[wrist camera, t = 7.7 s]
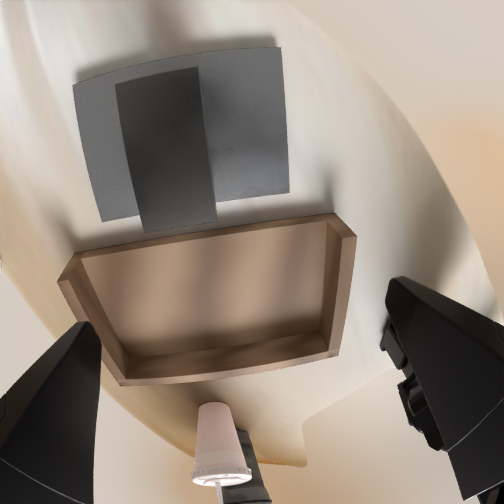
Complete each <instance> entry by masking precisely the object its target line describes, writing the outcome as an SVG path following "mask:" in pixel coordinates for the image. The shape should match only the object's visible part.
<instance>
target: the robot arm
mask: <svg viewBox="0 0 504 504" xmlns="http://www.w3.org/2000/svg"><path fill="white" fill-rule="evenodd" d="M385 304H386V308H387V310H388V313H389V315H390V319H389V322H388V325H387V328H386V331H385V334H384V337H383V340H382V343H381V346H380V349H381V350H382V351H387V352H388V354H389V356H390V358H391V359H392V361H393V363H394V364H395V366H396V368H397V369H398V370H400V369H402V371H403V373H404V375H405V376H406V378H407V379H406V380H404V381H403V382H401V383H399V384H398V385H397V386H398V389H399V394H400V397H401V400H402V403H403V406H404V409H405V412H406V415H407V418H408V423H409V425H410V426H414V427H415V428H416V429H417V430H418V431H419V432H420V433H423V434H424V436H425V438H426V440H427V443H428V445H429V446H430V447H431V448H433V449H434V450H437V451H439V450H443V451H446V452H448V455H449V458H450V461H451V464H452V467H453V470H454V473H455V476H456V479H457V482H458V485H459V489H460V492H461V495H462V498H463V500H464V501H465V500H467V499H469V498H472V497H474V496H476V495H477V497H478V499H479V501H480V504H504V326H502V325H501V324H499V323H497V322H494V321H493V320H491V319H489V318H487V317H485V316H483V315H482V314H480V313H478V312H476V311H474V310H472V309H470V308H468V307H466V306H464V305H462V304H460V303H458V302H456V301H454V300H452V299H450V298H448V297H446V296H444V295H442V294H440V293H438V292H436V291H434V290H431V289H429V288H427V287H425V286H423V285H421V284H419V283H417V282H415V281H413V280H411V279H408V278H406V277H404V276H399V277H395V278H392V279H391V280H390V282H389V286H388V290H387V294H386V298H385ZM101 355H102V343H101V340H100V338H99V336H98V334H97V333H96V331H95V329H94V327H93V325H92V324H91V323H90V322H89V321H79V322H76V323H75V324H74V325H73V326H72V327H71V328H70V329H69V330H68V331H67V332H66V333H65V334H64V335H62V336H61V337H60V338H59V339H58V340H57V341H56V342H55V343H54V344H53V345H52V346H51V347H50V348H49V349H48V350H47V351H46V352H45V353H44V354H43V355H42V356H41V357H40V358H39V359H38V360H37V361H36V362H35V363H34V364H33V365H32V366H31V367H30V368H29V369H28V370H27V371H26V372H25V373H24V374H23V375H22V376H21V377H20V378H19V379H18V380H17V381H16V382H15V383H14V384H13V386H12V387H11V388H10V389H9V390H8V391H7V392H6V394H4V395H3V396H2V397H1V399H0V504H94V501H93V469H94V446H95V432H96V419H97V410H98V401H99V392H100V373H101Z"/></svg>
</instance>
